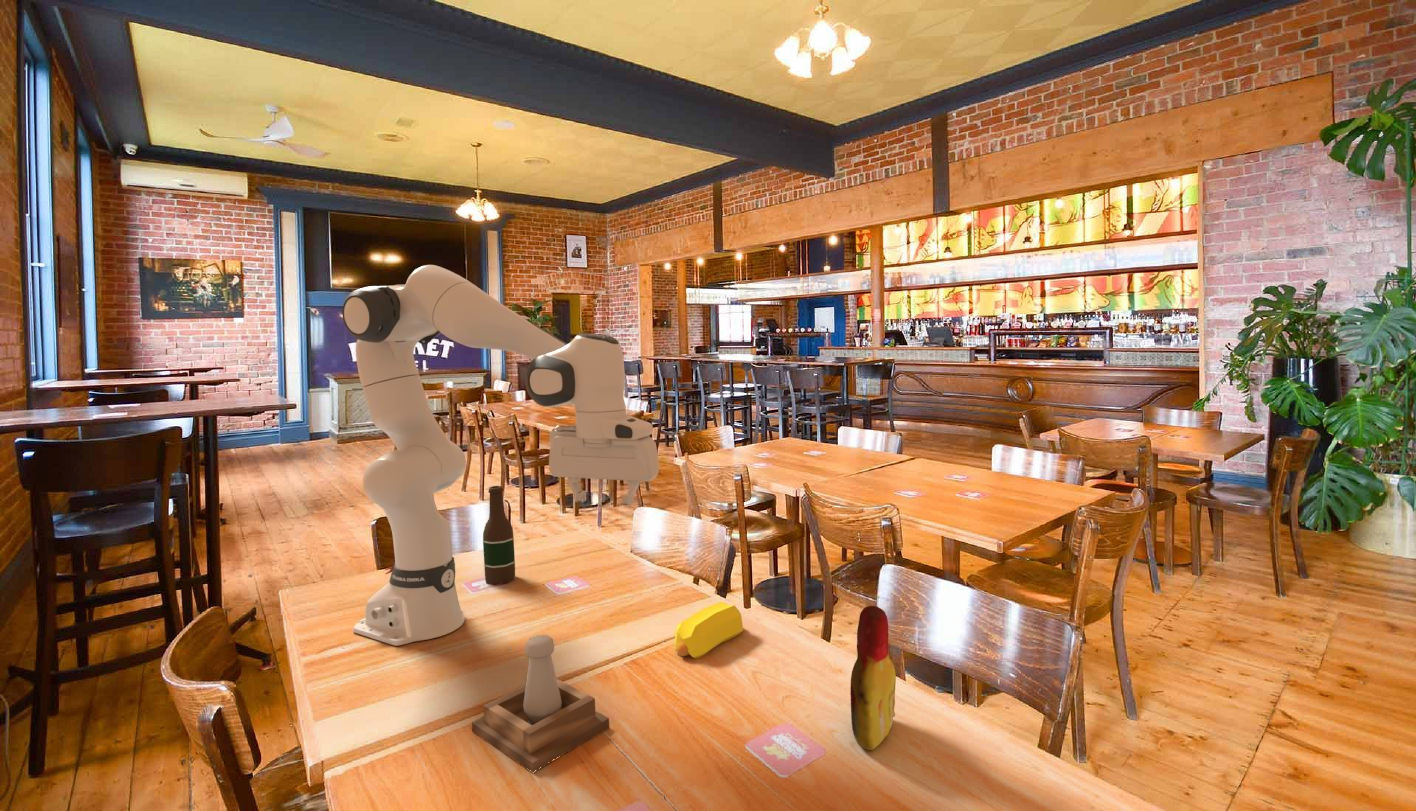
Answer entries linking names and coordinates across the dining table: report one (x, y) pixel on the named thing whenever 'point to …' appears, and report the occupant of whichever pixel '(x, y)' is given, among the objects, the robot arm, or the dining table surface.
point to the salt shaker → (541, 680)
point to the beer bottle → (498, 542)
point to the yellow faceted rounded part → (707, 629)
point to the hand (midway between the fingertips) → (604, 503)
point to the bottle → (872, 680)
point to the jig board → (539, 726)
